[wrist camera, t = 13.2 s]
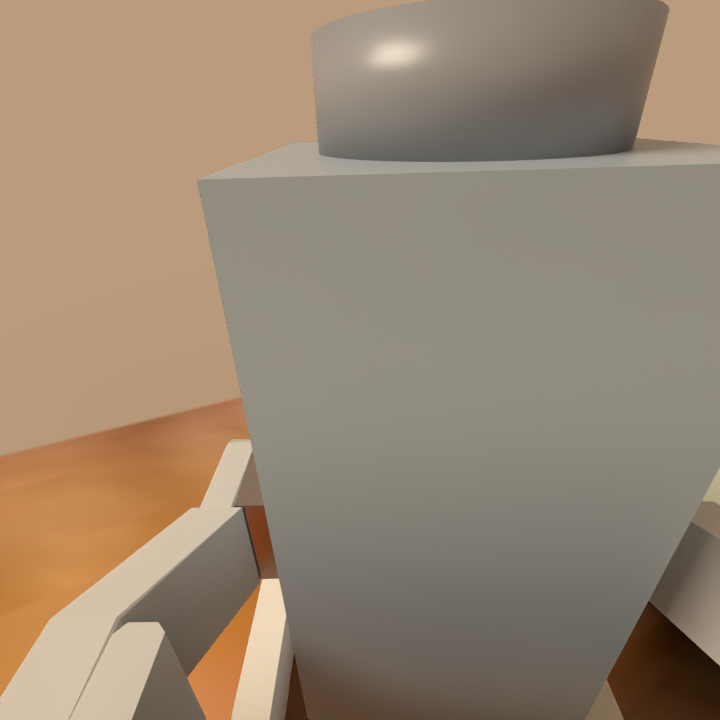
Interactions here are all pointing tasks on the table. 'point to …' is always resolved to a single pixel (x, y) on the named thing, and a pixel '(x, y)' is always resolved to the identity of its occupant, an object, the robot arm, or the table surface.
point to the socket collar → (275, 658)
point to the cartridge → (474, 354)
